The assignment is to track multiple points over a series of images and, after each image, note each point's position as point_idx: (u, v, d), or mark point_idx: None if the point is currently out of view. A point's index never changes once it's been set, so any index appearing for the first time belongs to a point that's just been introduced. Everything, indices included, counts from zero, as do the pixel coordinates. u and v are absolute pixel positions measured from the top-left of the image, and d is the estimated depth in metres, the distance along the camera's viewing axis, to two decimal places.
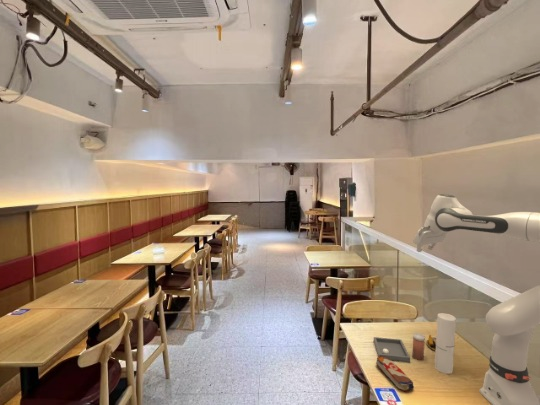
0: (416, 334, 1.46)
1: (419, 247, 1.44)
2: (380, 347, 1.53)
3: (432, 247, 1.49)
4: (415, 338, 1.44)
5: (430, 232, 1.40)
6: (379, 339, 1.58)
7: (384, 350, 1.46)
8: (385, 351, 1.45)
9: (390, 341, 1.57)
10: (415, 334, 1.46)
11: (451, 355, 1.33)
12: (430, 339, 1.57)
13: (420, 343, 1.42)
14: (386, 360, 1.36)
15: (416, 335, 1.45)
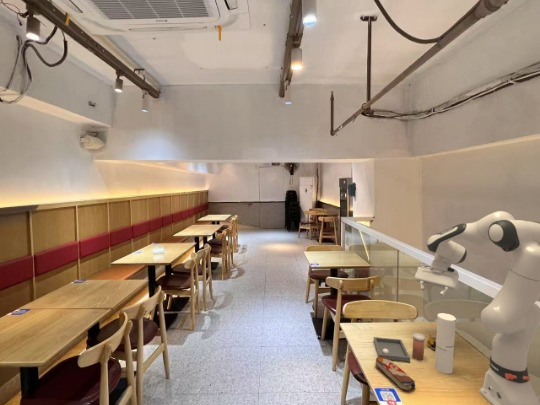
0: (416, 334, 1.46)
1: None
2: (380, 347, 1.53)
3: (442, 291, 1.49)
4: (415, 338, 1.44)
5: (428, 269, 1.59)
6: (379, 339, 1.58)
7: (384, 350, 1.46)
8: (385, 351, 1.45)
9: (390, 341, 1.57)
10: (415, 334, 1.46)
11: (451, 355, 1.33)
12: (431, 339, 1.57)
13: (420, 343, 1.42)
14: (385, 360, 1.36)
15: (416, 335, 1.45)
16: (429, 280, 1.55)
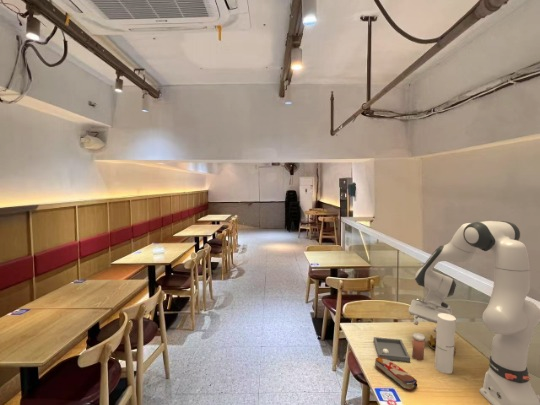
0: (416, 334, 1.46)
1: (414, 318, 1.55)
2: (380, 347, 1.53)
3: (435, 327, 1.47)
4: (415, 338, 1.44)
5: (422, 303, 1.57)
6: (379, 339, 1.58)
7: (384, 350, 1.46)
8: (385, 351, 1.45)
9: (390, 341, 1.57)
10: (415, 334, 1.46)
11: (451, 355, 1.33)
12: (432, 339, 1.57)
13: (420, 343, 1.42)
14: (385, 360, 1.36)
15: (416, 335, 1.45)
16: (422, 315, 1.53)
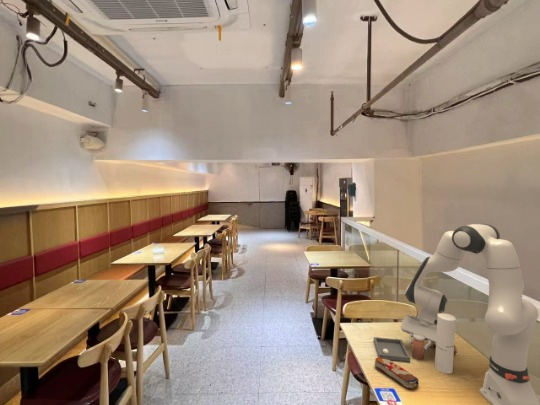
0: (416, 334, 1.46)
1: (410, 337, 1.49)
2: (380, 347, 1.53)
3: (424, 345, 1.43)
4: (415, 338, 1.44)
5: (414, 320, 1.52)
6: (379, 339, 1.58)
7: (384, 350, 1.46)
8: (385, 351, 1.45)
9: (390, 341, 1.57)
10: (415, 334, 1.46)
11: (451, 355, 1.33)
12: None
13: (420, 343, 1.42)
14: (385, 360, 1.36)
15: (416, 335, 1.45)
16: (415, 332, 1.48)
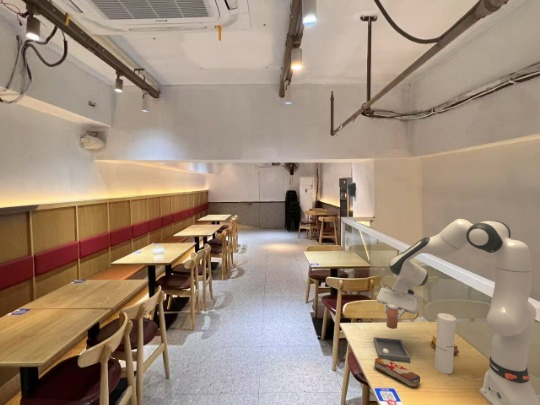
0: (391, 303, 1.50)
1: None
2: (380, 347, 1.53)
3: (398, 313, 1.46)
4: (389, 307, 1.47)
5: (390, 291, 1.56)
6: (379, 339, 1.58)
7: (384, 350, 1.46)
8: (385, 351, 1.45)
9: (390, 341, 1.57)
10: (389, 303, 1.50)
11: (451, 355, 1.33)
12: (434, 340, 1.56)
13: (393, 311, 1.46)
14: (385, 360, 1.36)
15: (390, 304, 1.49)
16: (390, 302, 1.51)
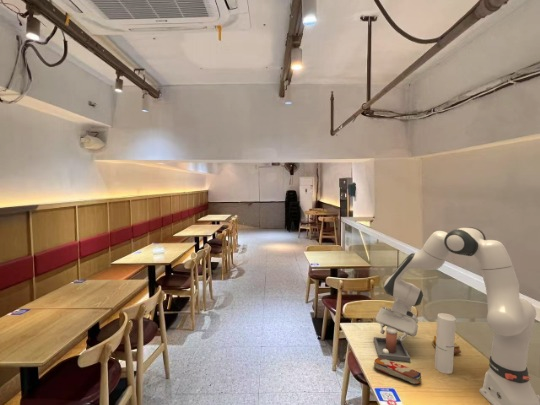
0: (390, 327, 1.51)
1: None
2: (380, 347, 1.53)
3: None
4: (388, 331, 1.48)
5: (389, 311, 1.57)
6: (379, 339, 1.58)
7: (384, 350, 1.46)
8: (385, 351, 1.45)
9: None
10: (388, 328, 1.51)
11: (451, 355, 1.33)
12: None
13: (392, 336, 1.47)
14: (384, 361, 1.36)
15: (389, 329, 1.50)
16: (389, 324, 1.52)
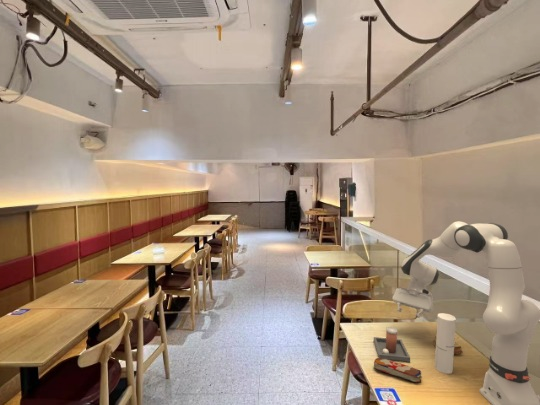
0: (390, 327, 1.51)
1: (398, 305, 1.62)
2: (380, 347, 1.53)
3: (417, 313, 1.54)
4: (388, 331, 1.48)
5: (405, 291, 1.65)
6: (379, 339, 1.58)
7: (384, 350, 1.46)
8: (385, 351, 1.45)
9: None
10: (388, 328, 1.51)
11: (451, 355, 1.33)
12: None
13: (392, 336, 1.47)
14: (384, 361, 1.36)
15: (389, 328, 1.50)
16: (405, 302, 1.60)
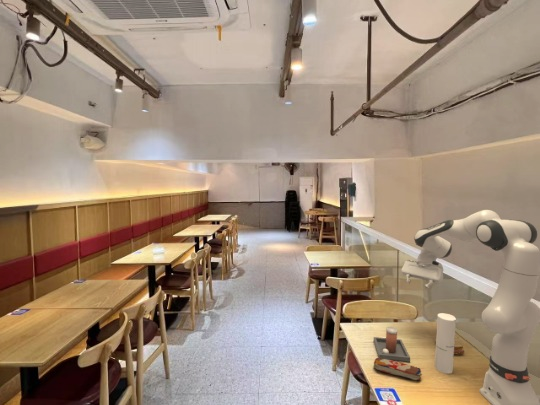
0: (390, 327, 1.51)
1: (407, 277, 1.62)
2: (380, 347, 1.53)
3: (426, 284, 1.54)
4: (388, 331, 1.48)
5: (414, 263, 1.64)
6: (379, 339, 1.58)
7: (384, 350, 1.46)
8: (385, 351, 1.45)
9: None
10: (388, 328, 1.51)
11: (451, 355, 1.33)
12: None
13: (392, 336, 1.47)
14: (384, 361, 1.36)
15: (389, 329, 1.50)
16: (415, 273, 1.60)
